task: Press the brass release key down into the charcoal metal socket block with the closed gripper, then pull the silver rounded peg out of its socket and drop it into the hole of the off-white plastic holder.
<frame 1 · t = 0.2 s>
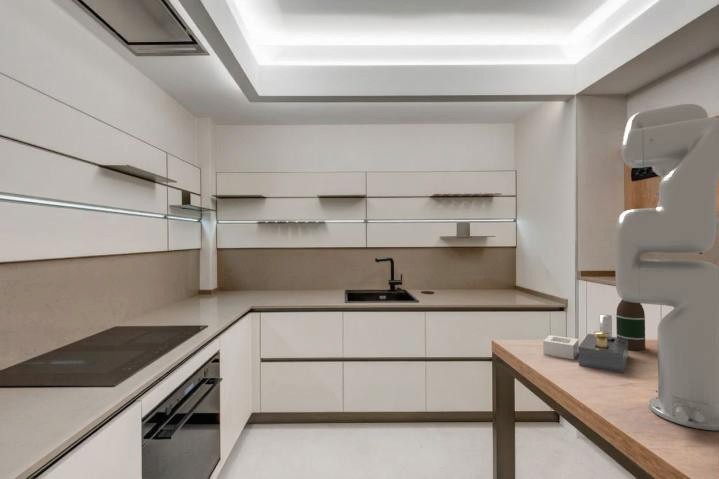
hand: (678, 253, 109), 31 cm above the table, tool pointing down, fingers open, 9 cm apart
bit holder: (561, 356, 112), on the table
socket block: (604, 363, 105), on the table
silver rounded peg: (606, 356, 109), point 1 cm above the table, touching socket block
release key: (601, 344, 102), point 7 cm above the table, slide at 0.0 cm
beer bottle: (630, 351, 116), on the table
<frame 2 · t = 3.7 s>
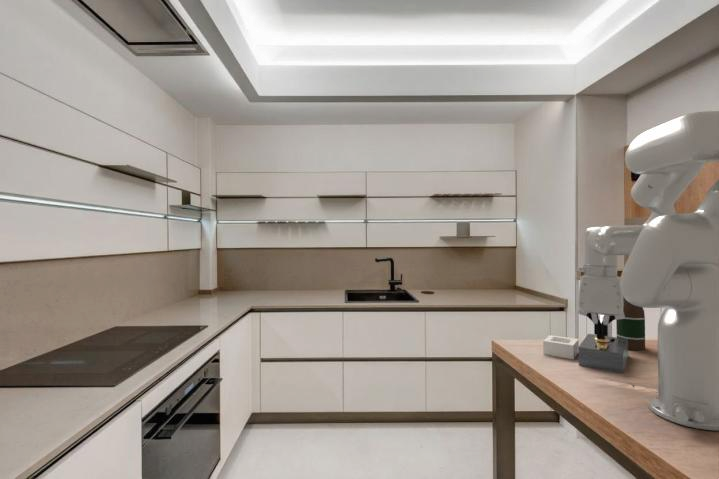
hand: (601, 337, 102), 8 cm above the table, tool pointing down, fingers closed
release key: (601, 349, 102), point 5 cm above the table, slide at 1.5 cm, touching gripper
everything else where it was.
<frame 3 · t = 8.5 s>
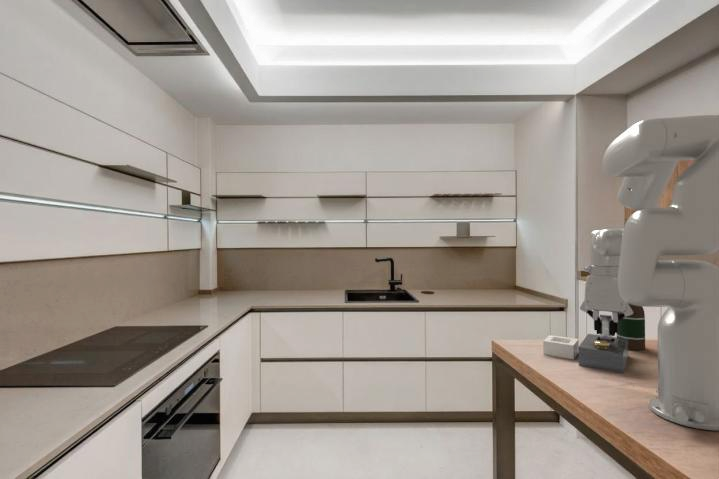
hand: (605, 333, 108), 8 cm above the table, tool pointing down, fingers closed on silver rounded peg, 3 cm apart
silver rounded peg: (606, 356, 109), point 1 cm above the table, touching gripper, socket block
release key: (602, 353, 102), point 4 cm above the table, slide at 2.5 cm, touching socket block
everything else where it was.
when the fingers open (9 cm above the table, at t = 14.3 s): silver rounded peg drops 1 cm, resting on bit holder.
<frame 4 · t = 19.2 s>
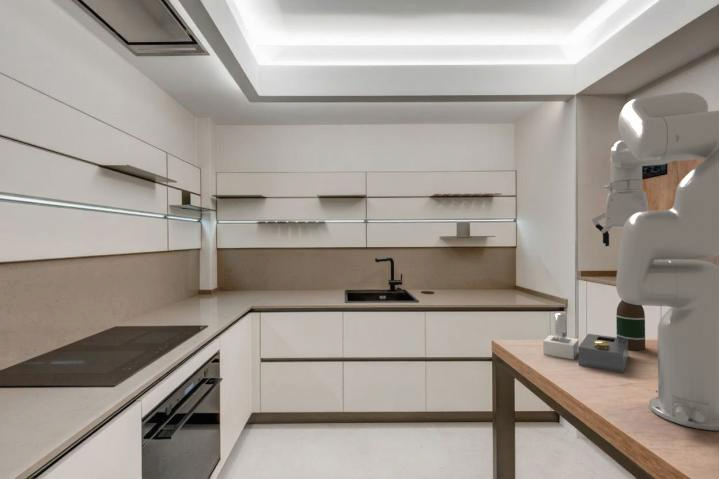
hand: (626, 246, 108), 33 cm above the table, tool pointing down, fingers open, 9 cm apart
silver rounded peg: (561, 353, 112), point 1 cm above the table, touching bit holder
everything else where it was.
at the end: release key slide at 2.5 cm; silver rounded peg 0.0 cm off-centre on the bit holder, point 1.0 cm above the bit holder's base; silver rounded peg tilted 0° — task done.
